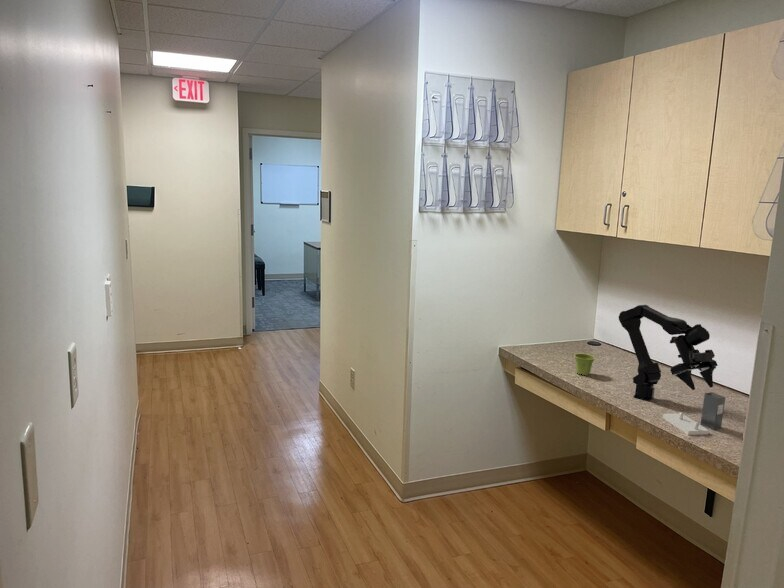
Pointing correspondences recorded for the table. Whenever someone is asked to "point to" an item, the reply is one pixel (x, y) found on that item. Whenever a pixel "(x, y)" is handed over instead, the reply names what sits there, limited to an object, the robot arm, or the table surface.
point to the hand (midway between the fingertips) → (702, 388)
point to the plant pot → (583, 363)
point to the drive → (712, 410)
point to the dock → (685, 424)
